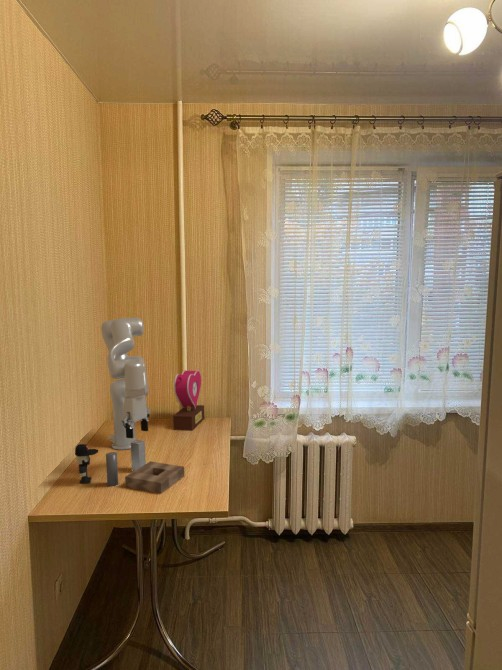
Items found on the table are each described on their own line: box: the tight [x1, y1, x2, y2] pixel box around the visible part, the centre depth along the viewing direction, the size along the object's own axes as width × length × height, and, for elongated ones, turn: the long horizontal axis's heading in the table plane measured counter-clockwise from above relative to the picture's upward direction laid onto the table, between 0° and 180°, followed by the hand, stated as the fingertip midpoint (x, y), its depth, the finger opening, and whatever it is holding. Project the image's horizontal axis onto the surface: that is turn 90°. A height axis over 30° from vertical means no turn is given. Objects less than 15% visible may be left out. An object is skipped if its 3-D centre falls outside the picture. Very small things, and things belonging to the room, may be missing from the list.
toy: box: [74, 443, 99, 484], centre depth 181 cm, size 8×8×15 cm
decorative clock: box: [172, 369, 206, 432], centre depth 250 cm, size 25×10×30 cm, turn 168°
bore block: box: [124, 461, 185, 495], centre depth 181 cm, size 16×16×4 cm
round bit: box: [105, 451, 119, 487], centre depth 178 cm, size 4×4×12 cm
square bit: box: [130, 439, 147, 472], centre depth 192 cm, size 4×4×12 cm
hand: (137, 434), depth 190 cm, fingers open, 9 cm apart
